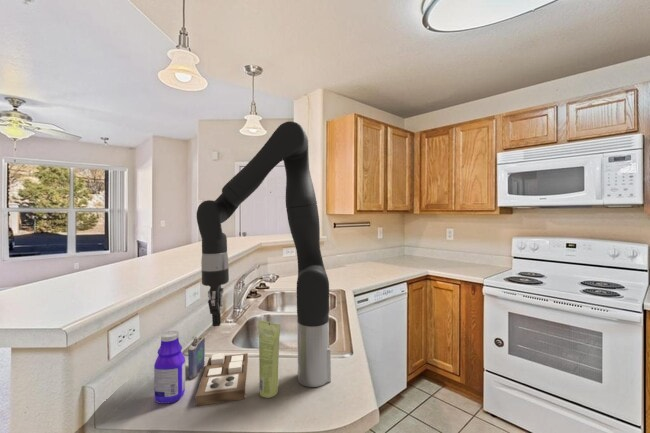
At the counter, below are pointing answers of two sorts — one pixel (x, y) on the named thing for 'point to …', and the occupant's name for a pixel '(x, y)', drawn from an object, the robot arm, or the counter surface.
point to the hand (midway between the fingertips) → (216, 325)
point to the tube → (268, 357)
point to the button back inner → (237, 358)
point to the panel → (222, 383)
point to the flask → (196, 357)
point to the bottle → (169, 369)
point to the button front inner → (235, 367)
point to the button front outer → (214, 372)
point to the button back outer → (218, 359)
